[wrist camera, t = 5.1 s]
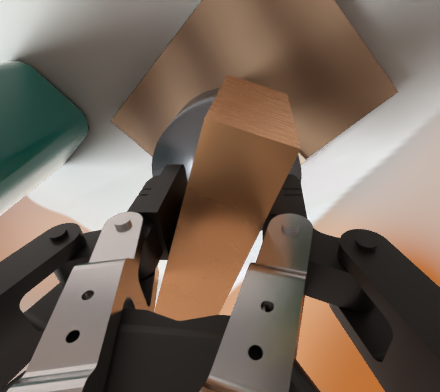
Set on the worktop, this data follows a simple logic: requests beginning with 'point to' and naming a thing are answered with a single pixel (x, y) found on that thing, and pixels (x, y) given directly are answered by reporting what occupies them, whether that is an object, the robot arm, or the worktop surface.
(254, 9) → the stand
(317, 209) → the worktop surface
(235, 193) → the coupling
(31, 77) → the square teal bottle
